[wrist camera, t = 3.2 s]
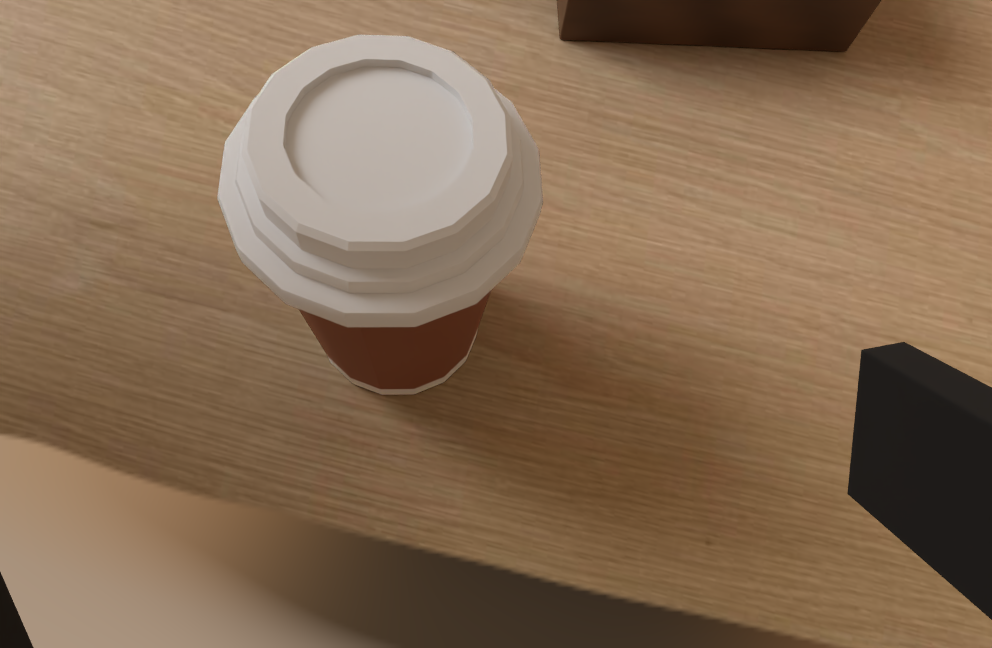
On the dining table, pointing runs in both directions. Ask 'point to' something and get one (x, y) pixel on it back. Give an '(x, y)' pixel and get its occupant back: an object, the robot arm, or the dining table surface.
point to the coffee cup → (382, 202)
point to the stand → (718, 22)
